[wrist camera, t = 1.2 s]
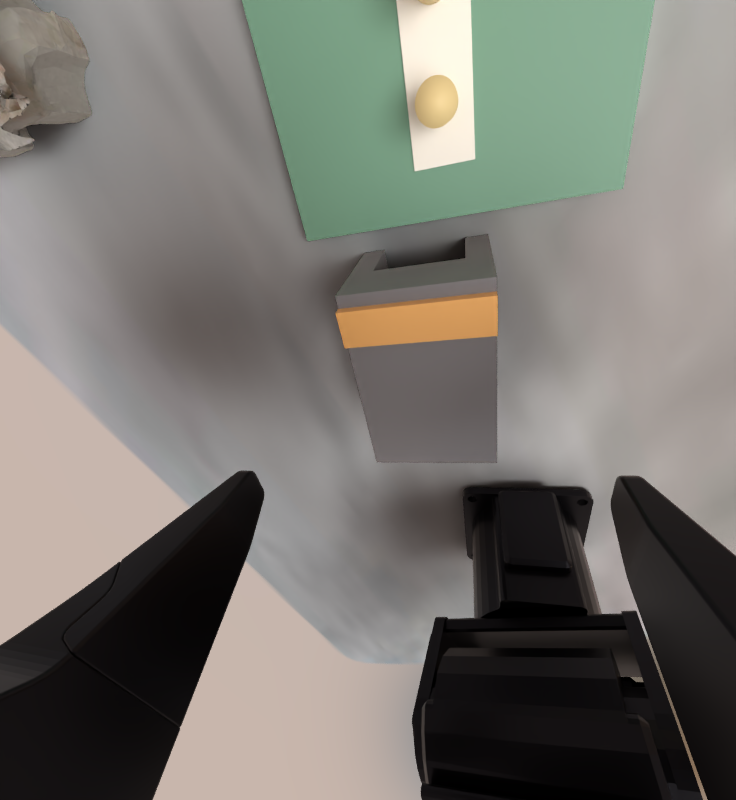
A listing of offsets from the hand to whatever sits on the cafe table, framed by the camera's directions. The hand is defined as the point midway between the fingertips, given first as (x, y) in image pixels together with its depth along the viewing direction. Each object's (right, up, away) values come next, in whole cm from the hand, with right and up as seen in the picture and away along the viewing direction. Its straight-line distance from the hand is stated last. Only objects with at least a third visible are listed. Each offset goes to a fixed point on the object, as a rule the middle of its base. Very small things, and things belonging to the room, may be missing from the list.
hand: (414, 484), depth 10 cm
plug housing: (+2, +5, +7) cm, 9 cm away
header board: (+1, +13, +1) cm, 13 cm away
